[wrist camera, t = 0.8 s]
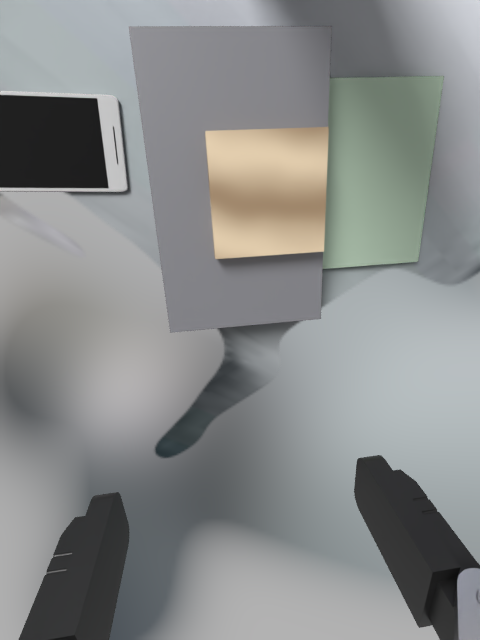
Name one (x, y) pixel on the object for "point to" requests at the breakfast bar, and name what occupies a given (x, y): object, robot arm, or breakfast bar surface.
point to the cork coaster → (267, 190)
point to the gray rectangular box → (191, 160)
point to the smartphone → (61, 143)
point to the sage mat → (378, 168)
